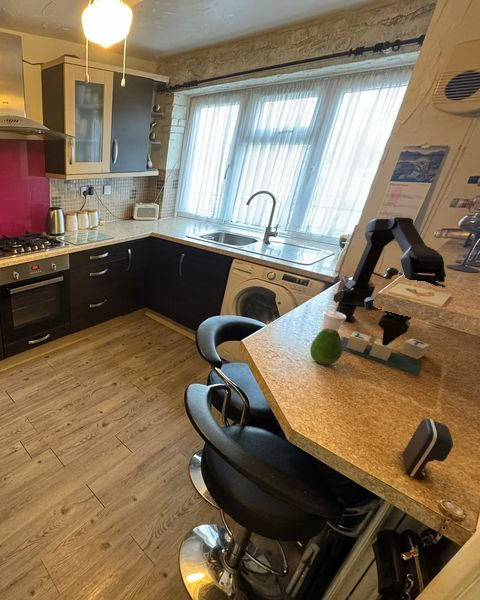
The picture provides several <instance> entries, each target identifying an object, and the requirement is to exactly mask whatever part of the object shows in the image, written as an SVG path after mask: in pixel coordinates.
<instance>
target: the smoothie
mask: <svg viewBox="0 0 480 600" xmlns="http://www.w3.org/2000/svg"><path fill="white" fill-rule="evenodd" d="M338 305H339V302H337V303H335V307H334V310H330V309H329V310H328V309H327V310H325V311H323V313H322V315H323V318H322V324H321V329H320V331H322V330H323V329H326V328H331V329H333V330H335V331H337V332H338V333H339V330H340V328H341V326H342V325H343V323H344V322H346V321H345V320H346V316H345V315H344V314H342V313H340V312H337V311H336V310H337V307H338Z"/></svg>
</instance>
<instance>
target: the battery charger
mask: <svg viewBox="0 0 480 600" xmlns="http://www.w3.org/2000/svg"><path fill="white" fill-rule="evenodd" d="M408 441H409V442H408V443H407V444H406V446H405V448H404V449H403V451H402V458H403V460H402V461H403V465H404V472H405V474H406V475H408V476H410V477H413V478H416V479H418V480H426V479H427V477H428V476H427V471H426V466H427V464H428V463H430V462H434V461H438V462H441V463H442V462H444V461H446V460H447V458H448V456H449V455H450V453H451V451H452V450H453V447H454V441H453V437H452V434H451V431H450V429H449V427H448V426H447V425H446V424H444V423H442V422H439V421H436V420H433V419H431V418H427V417H425V418H422V420H420V422H419V424H418V426H417V427H416V429H415V431H414V432H413V434H412V435H411V437H410V439H409V440H408Z"/></svg>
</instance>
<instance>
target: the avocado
mask: <svg viewBox="0 0 480 600" xmlns="http://www.w3.org/2000/svg"><path fill="white" fill-rule="evenodd" d="M340 335H341V334H340V333H339V331H338V332H337V331H335V330H333V329H331V328H326V329H323V330H322V331H321V330H320V331H319V332H318V333H317V335H316V336H315V337H314V338H313V340H312V342H311V344H310V356H311V359H312V360H314V361H315V362H316V363H318V364H320V365H333V364H335V363H336V362H338V360H340V358H341V357H342V353H343V351H342V344H341V340H342V338H341V336H340Z"/></svg>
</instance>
